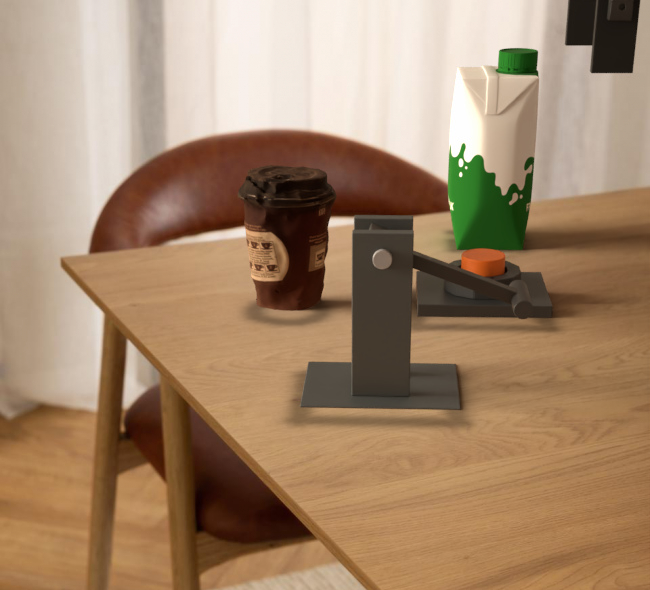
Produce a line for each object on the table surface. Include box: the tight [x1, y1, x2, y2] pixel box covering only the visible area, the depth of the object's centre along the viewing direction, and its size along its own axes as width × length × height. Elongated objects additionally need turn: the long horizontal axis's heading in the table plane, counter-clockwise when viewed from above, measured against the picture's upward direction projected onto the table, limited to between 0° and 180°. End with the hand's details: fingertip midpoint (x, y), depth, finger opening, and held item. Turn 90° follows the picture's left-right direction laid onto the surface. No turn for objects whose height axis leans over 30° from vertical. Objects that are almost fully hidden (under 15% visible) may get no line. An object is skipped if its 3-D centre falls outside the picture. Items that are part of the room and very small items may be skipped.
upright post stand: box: [299, 214, 461, 411], centre depth 90 cm, size 12×9×14 cm
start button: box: [460, 248, 506, 277], centre depth 109 cm, size 4×4×2 cm
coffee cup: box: [237, 164, 337, 312], centre depth 108 cm, size 9×8×13 cm
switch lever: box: [369, 223, 533, 320], centre depth 88 cm, size 13×5×2 cm, turn 87°
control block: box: [415, 259, 554, 319], centre depth 110 cm, size 12×10×4 cm
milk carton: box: [447, 47, 540, 251], centre depth 126 cm, size 9×9×20 cm
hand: (596, 58), depth 85 cm, fingers open, 13 cm apart
